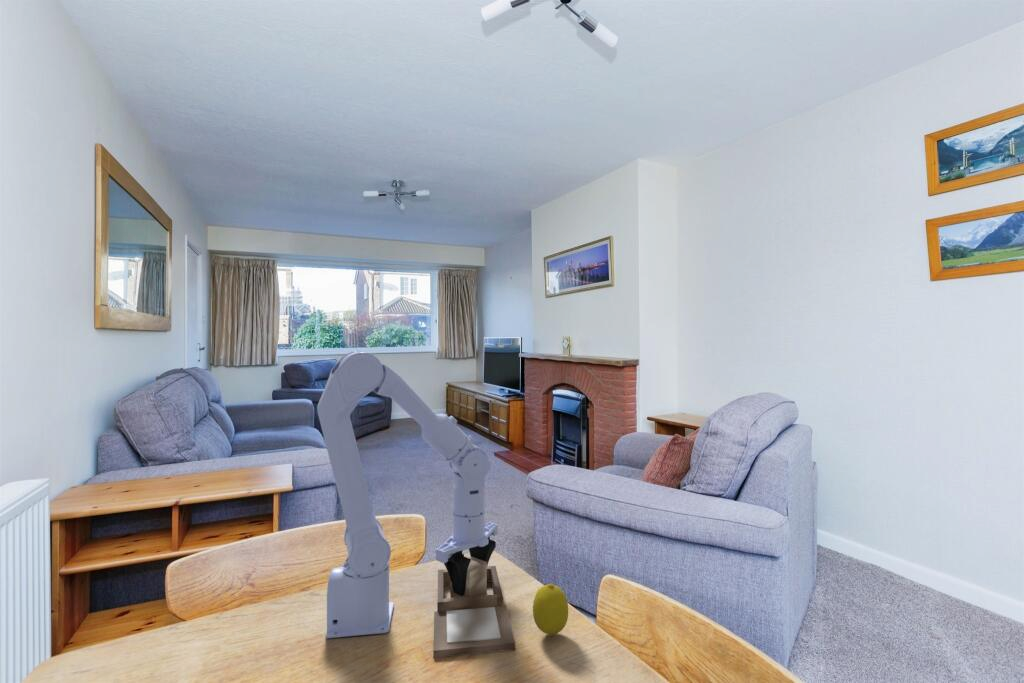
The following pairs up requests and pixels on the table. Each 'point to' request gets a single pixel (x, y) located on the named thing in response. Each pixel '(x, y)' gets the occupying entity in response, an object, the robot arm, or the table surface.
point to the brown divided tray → (471, 621)
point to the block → (474, 579)
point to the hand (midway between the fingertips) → (468, 587)
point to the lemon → (550, 609)
